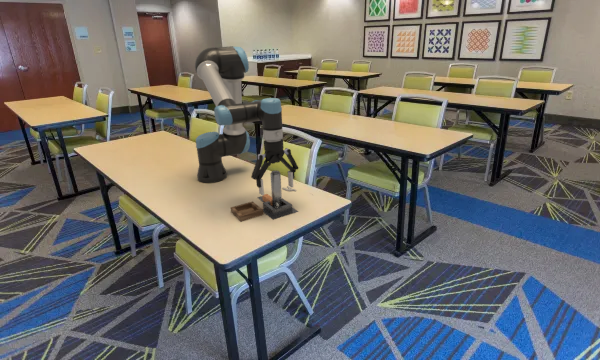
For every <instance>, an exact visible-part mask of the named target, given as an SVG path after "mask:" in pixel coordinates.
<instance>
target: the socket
mask: <svg viewBox="0 0 600 360" xmlns="http://www.w3.org/2000/svg"><path fill="white" fill-rule="evenodd" d="M256 199H258V200H260V202H262V209H263V212H264V215H266V216H267V217H269V218H270V219H271V220H272V221H274V220H277V219H280V218H283V217H286V216H290V215H292V214H297V213H299V211H298V210H297V209H296V208H294V207H293V204H291V202H288V201H287V200H286V199H284V198H283V197H282V206H281V207H277V208H273V206H271V205H270V202H269V201H267V202H265V201H263V198H262V195H261V196H257V197H256Z"/></svg>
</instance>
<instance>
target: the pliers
mask: <svg viewBox="0 0 600 360" xmlns="http://www.w3.org/2000/svg"><path fill="white" fill-rule="evenodd" d="M281 190H284V191H285V192H288V193H290V192H297V191H298V190H297V189H296V188H293V187H290V186H289V185H288V186H286V187H281ZM309 194H310V195H312V196H314V194H312V193H310V192H309Z"/></svg>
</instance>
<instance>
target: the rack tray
mask: <svg viewBox="0 0 600 360" xmlns="http://www.w3.org/2000/svg"><path fill="white" fill-rule="evenodd" d="M230 213H231V214H232V215H233V216H234V217H236V219H237V220H238V221H240V222H245V221H248V220H251V219H254V218H258V217H261V216H264V215H265V213H264V212H263V207H260V205H258V204H257V203H255V202H254V201H253V200H252V201H249V202H245V203H242V204H239V205H235V206H230Z"/></svg>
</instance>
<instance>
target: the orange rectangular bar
mask: <svg viewBox="0 0 600 360" xmlns="http://www.w3.org/2000/svg"><path fill="white" fill-rule="evenodd" d="M261 196H262V195H261ZM262 198H263V201H265V202H267V201H269V202H270V205H271V206H273V205H272V195H269V194H268V193H264V195H263V196H262Z"/></svg>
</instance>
